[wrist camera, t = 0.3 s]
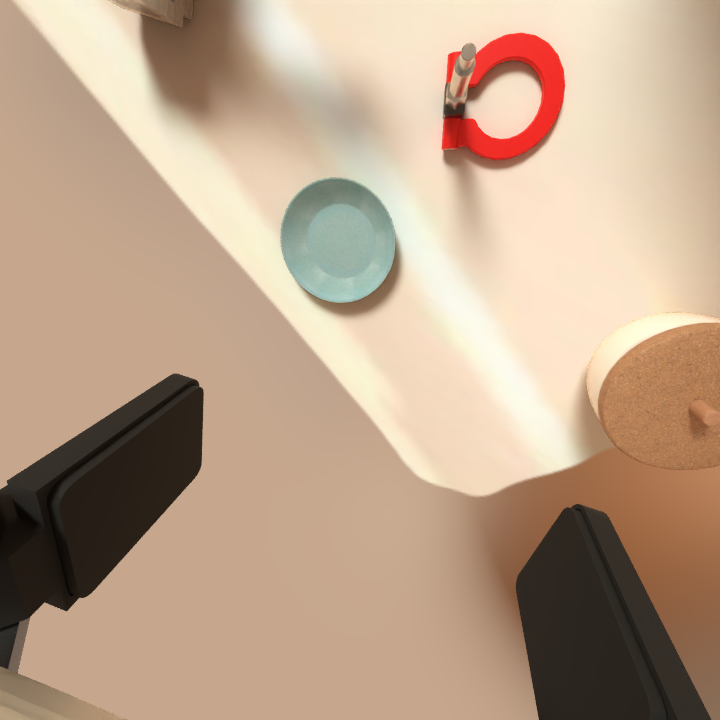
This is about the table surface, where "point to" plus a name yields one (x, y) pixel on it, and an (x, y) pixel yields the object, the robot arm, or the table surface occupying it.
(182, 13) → the valve body
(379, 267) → the saucer
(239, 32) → the table surface
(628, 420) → the lidded bowl
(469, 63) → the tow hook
